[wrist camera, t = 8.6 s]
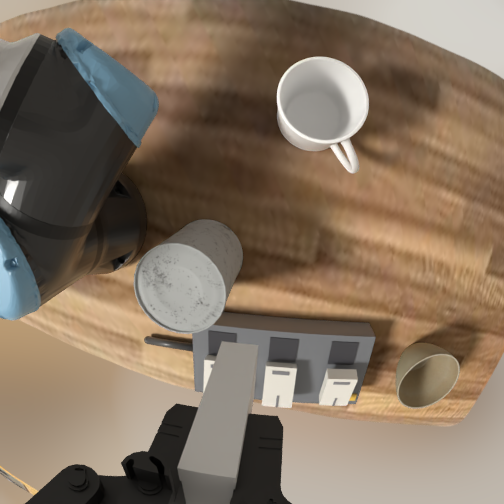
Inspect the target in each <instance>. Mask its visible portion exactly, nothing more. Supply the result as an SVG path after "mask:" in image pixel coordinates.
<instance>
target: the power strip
mask: <svg viewBox="0 0 504 504" xmlns="http://www.w3.org/2000/svg"><path fill="white" fill-rule="evenodd" d="M192 336H193V343H187V342H180V341H174V340H168V339H162V338H156V337H150V336H147V337H145V339H144V341H145V343H147V344H151V345H156V346H162V347H168V348H174V349H180V350H187V351H193V361H194V381H195V391H197V392H203V386H204V359H205V358H206V356H207V355H213V356H217V354H218V351H219V348H220V345H221V343H222V341H224V342H233V343H242V344H252V345H258V355H257V367H256V379H255V391H254V399H259V400H262V398H263V389H264V379H265V370H266V361H268V362H280V363H293V364H296V365H297V372H296V379H295V386H294V393H293V400H292V402H299V403H319V394H320V390H321V387H322V384H323V381H324V377H325V374H326V371H327V369H356V371H357V377H358V381H357V383H356V385H355V388H354V390H353V393H352V395H351V397H350V399H349V402H348V404H356V402H357V399H358V396H359V393H360V390H361V387H362V383H363V380H364V377H365V374H366V370H367V367H368V363H369V360H370V356H371V353H372V349H373V345H374V342H375V338H376V336H375V334H374V332H373V330H372V328H371V326H370V324H369V323H364V322H343V321H326V320H310V319H297V318H284V317H272V316H261V315H250V314H240V313H230V312H222V314H221V316H220V317H219V319H218V320H217V321H216V322H215V323H214V324H213V325H212V326H210V327H209V328H207V329H205V330H203V331H200V332H198V333H192Z"/></svg>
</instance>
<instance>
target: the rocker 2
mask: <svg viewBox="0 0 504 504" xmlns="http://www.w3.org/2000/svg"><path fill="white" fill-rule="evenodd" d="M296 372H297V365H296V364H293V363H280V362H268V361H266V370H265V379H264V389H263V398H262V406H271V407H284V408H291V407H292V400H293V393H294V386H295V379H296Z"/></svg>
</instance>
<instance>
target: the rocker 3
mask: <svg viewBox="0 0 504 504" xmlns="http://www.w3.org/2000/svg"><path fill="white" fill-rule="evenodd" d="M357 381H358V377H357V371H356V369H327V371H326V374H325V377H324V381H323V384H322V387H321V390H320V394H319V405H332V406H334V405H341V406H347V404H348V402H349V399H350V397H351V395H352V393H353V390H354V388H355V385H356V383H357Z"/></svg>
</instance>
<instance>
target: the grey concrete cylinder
mask: <svg viewBox="0 0 504 504" xmlns="http://www.w3.org/2000/svg"><path fill="white" fill-rule="evenodd" d="M242 261H243V251H242V247H241V243H240V241H239V240H238V238H237V236H236V235H235V234H234V232H233V231H232V230H231V229H230V228H228V227H227V226H226V225H224V224H222V223H220V222H218V221H214V220H209V219H201V220H197V221H193V222H191V223H189V224H187V225H186V226H185V227H183V228H182V229H181V230H180V231H178V232H177V233H175V234H174V235H172V236H171V237H169V238H168V239H166V240H165V241H163V242H162V243H161V244H159V245H158V246H156V247H154V248H152V249H150V250H149V251H148V252H147V253H146V254H145V255H144V256H143V257H142V258H141V260H140V261H139V263H138V265H137V267H136V271H135V274H134V289H135V295H136V297H137V300H138V302H139V304H140V306H141V308H142V309H143V311H144V312H145V314H146V315H147V316H148V317H149V318H150V319H151V320H152V321H154V322H155V323H156V324H158V325H159V326H161V327H163V328H165V329H167V330H169V331H172V332H176V333H183V334H191V333H198V332H200V331H203V330H205V329H207V328H209V327H210V326H212V325H213V324H214V323H215V322H216V321H217V320H218V319H219V317H220V316H221V314H222V312H223V310H224V308H225V304H226V301H227V298H228V296H229V293H230V291H231V289H232V286H233V284H234V281H235V279H236V277H237V275H238V273H239V271H240V269H241V267H242Z"/></svg>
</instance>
